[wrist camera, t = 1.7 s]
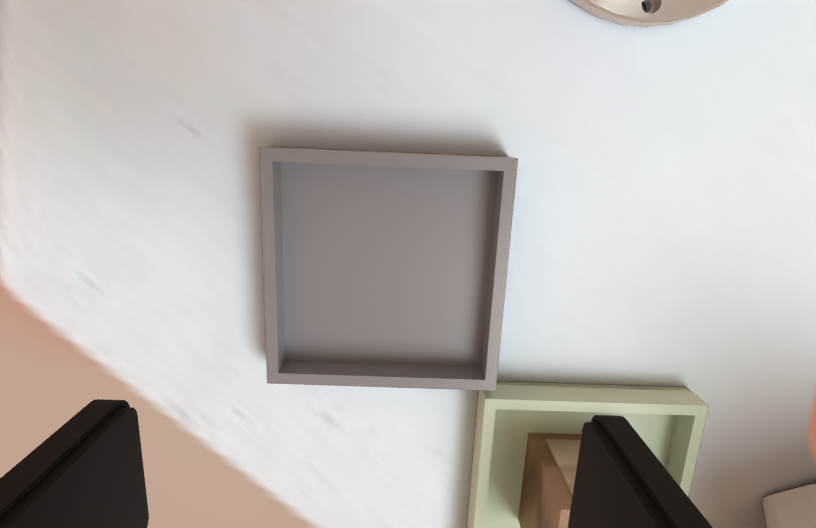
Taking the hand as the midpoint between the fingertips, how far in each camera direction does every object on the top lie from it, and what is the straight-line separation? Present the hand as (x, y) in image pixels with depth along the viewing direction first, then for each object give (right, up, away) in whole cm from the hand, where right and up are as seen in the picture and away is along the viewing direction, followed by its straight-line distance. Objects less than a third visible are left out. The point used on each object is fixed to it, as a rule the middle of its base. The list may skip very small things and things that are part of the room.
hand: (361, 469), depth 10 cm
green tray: (+11, -8, +19) cm, 24 cm away
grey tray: (0, +4, +16) cm, 16 cm away
